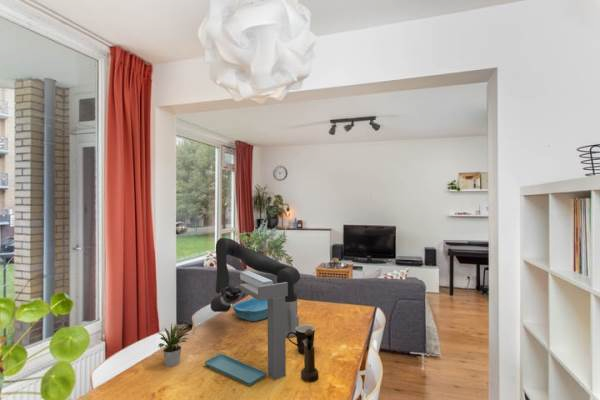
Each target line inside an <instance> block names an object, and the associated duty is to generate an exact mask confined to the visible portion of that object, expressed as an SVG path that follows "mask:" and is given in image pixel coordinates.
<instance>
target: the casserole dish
mask: <svg viewBox="0 0 600 400" xmlns="http://www.w3.org/2000/svg"><path fill="white" fill-rule="evenodd" d="M232 307H233V311H234V314H235V315H236V317H238V318H240V319H243V320H246V321H250V322H258V321H260V320H264V319H266V318H267V319H268V300H262V301H259V300H257V299H255V298H254V297H252V298H249V299H245V300H243V301H240V302H237V303H235V304H234V303H233V304H232Z"/></svg>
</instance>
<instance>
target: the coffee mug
mask: <svg viewBox="0 0 600 400" xmlns="http://www.w3.org/2000/svg"><path fill="white" fill-rule="evenodd" d="M307 329H311V330H312V331H313V336H312V338H311V341H312V345H311V346H313V347H314V344H315V343H314V340H315V333H316V332H315V331H316V327H314V326H313V325H308V324H303V325H299V326H298V327H296V333H294V332H290V333H288V335H287V337H286V338H287V340H288V341H289V342H290V343H292V344H293V345H294V346H296V348H297V351H298V353H299V354H300V355H303V356H304V347H305V346H307V344H306V341H307V337H306V335H305V331H306V330H307ZM291 333H293V334H295V336H294V337H296V342H294V341H292V340H291V338H290V337H288V336H289V334H291Z"/></svg>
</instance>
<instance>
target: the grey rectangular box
mask: <svg viewBox="0 0 600 400" xmlns="http://www.w3.org/2000/svg"><path fill="white" fill-rule="evenodd" d="M239 273H240V274H239V275H240V276H239V278H240V280H241V281H243V282H245V283H249V284H251V285H253V286H255V287H257V288H258V286H264V285H271V284H274V283H273V280H271V279H269V278H266V277H265V276H263V275H259V274H258V273H255V272H252V271H250V270H245V271H240V272H239Z"/></svg>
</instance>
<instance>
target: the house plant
mask: <svg viewBox="0 0 600 400" xmlns="http://www.w3.org/2000/svg"><path fill="white" fill-rule="evenodd" d="M177 326H178V327H177ZM180 327H181V325H178V323H177V322H176V323H175V324H174V326H173V324H171V325H170V332H169V330H168V329H167V328H166V327H165V326H164V327H163V328H164V329H162V328H161V330H162V331H165V333H166V335H165V334H164V333H163V332H162V331H161V330H159V331H158V332H157V334H158V335H160V336H161V337H160V340H162V341H164V342H165V343H166V344H164V343H162V342H161V343H158V346H157V347H158V348H161V347H164V348H163V349H162V354H163V359H164V364H165V367H166V368H173V367H176V366H178V365H179V363H180V358H181V354H182V353H181V351H182V346H181V345H180V344H181V343H188V341H189V338H187V337H184V336H188V335H189V333H185V332H186V330H184V329H185V328H187V327H188V325H186V326H184V327H183V328H182V329H181V330H180V331H179V332H178V330H179V329H180ZM177 332H178V333H177ZM176 333H177V334H176ZM187 340H188V341H187Z"/></svg>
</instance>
